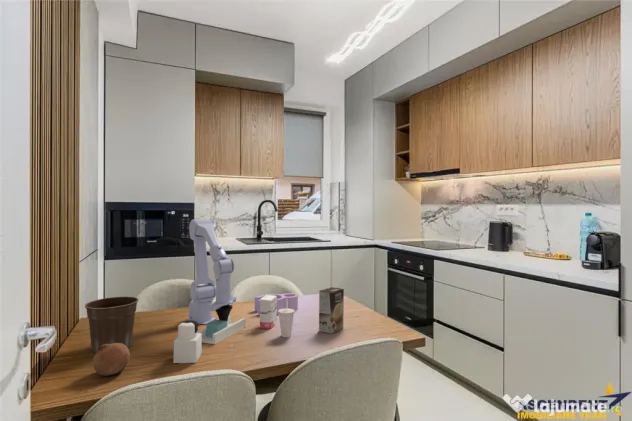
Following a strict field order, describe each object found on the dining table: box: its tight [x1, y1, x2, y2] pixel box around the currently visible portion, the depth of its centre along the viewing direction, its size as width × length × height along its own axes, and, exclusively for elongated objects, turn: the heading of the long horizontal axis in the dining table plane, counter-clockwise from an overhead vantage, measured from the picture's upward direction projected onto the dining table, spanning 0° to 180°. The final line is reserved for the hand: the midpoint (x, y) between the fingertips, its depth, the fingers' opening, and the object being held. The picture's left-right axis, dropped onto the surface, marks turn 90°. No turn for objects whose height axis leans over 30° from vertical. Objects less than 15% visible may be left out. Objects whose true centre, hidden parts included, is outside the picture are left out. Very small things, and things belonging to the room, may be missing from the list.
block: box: [205, 319, 227, 337], centre depth 132 cm, size 6×5×4 cm
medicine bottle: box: [172, 319, 203, 364], centre depth 113 cm, size 7×7×12 cm
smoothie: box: [278, 299, 296, 338], centre depth 134 cm, size 6×6×14 cm
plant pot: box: [84, 296, 139, 354], centre depth 122 cm, size 16×16×16 cm
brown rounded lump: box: [92, 343, 131, 377], centre depth 103 cm, size 10×9×10 cm
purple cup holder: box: [254, 292, 299, 316], centre depth 167 cm, size 20×12×7 cm, turn 114°
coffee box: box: [318, 287, 345, 335], centre depth 141 cm, size 9×6×16 cm
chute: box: [198, 315, 246, 345], centre depth 136 cm, size 20×8×4 cm, turn 160°
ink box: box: [259, 294, 278, 330], centre depth 145 cm, size 9×5×12 cm, turn 168°
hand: (223, 324), depth 136 cm, fingers closed
